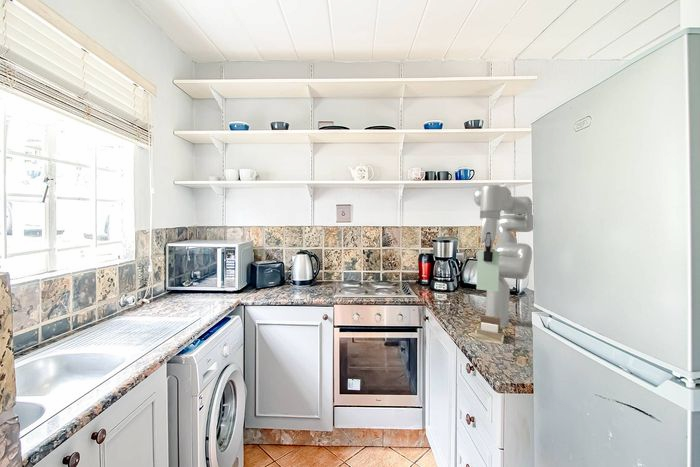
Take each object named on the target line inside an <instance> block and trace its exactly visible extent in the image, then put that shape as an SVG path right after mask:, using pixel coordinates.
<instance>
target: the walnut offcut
mask: <svg viewBox="0 0 700 467" xmlns="http://www.w3.org/2000/svg"><path fill="white" fill-rule="evenodd" d="M481 322H484V323H490V324H496V325H498V331H500V318H497V317H490V316H486V315H485V314H484V315H483V314H481V315H480V322H479V323H480V328H481Z"/></svg>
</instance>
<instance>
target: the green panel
mask: <svg viewBox="0 0 700 467" xmlns="http://www.w3.org/2000/svg"><path fill="white" fill-rule="evenodd" d="M484 250H485V249H477V263H476V266H477V267H476V287H475V288H476V290H481V291H487V290H488V291H497V292H498V282H499V256H500V251H494V250H492V252H493V257H492V262H486V261H484Z"/></svg>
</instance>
